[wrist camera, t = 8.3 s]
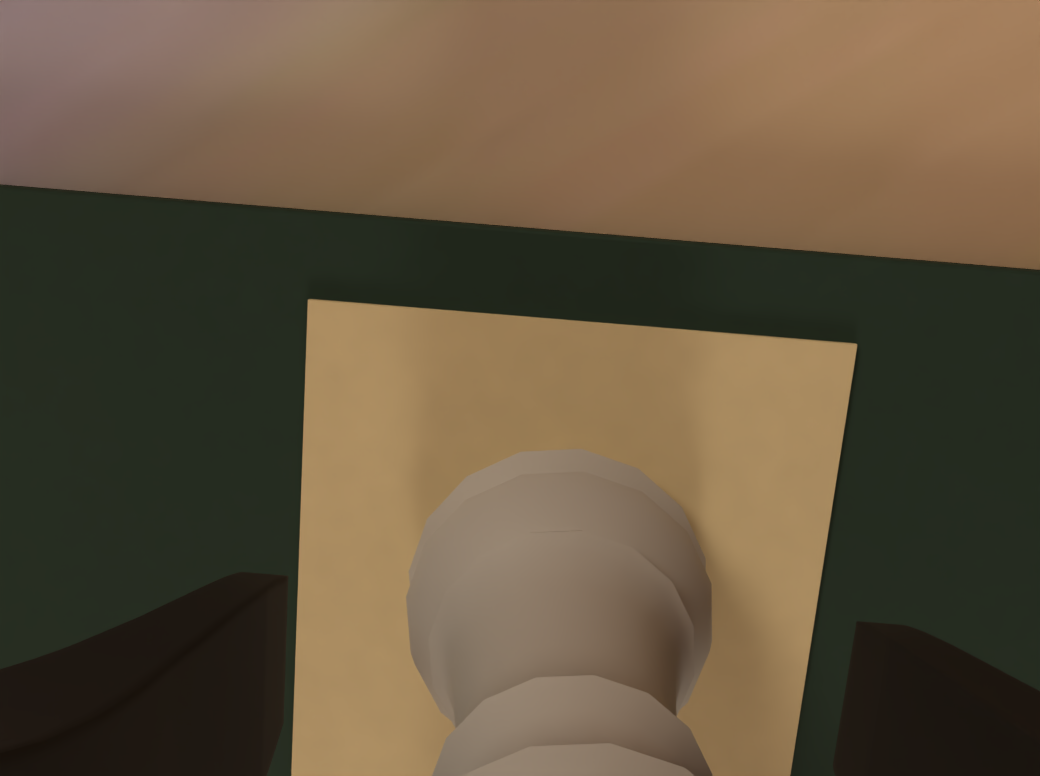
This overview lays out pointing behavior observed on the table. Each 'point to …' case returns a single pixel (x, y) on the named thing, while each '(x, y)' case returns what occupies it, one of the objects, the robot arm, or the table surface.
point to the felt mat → (507, 443)
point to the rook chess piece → (561, 620)
